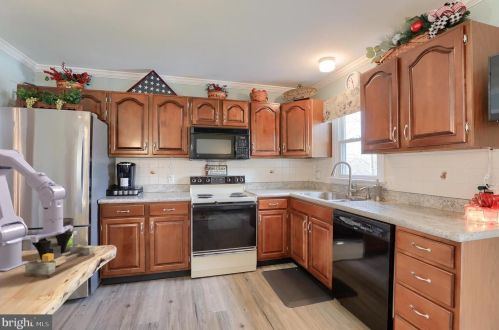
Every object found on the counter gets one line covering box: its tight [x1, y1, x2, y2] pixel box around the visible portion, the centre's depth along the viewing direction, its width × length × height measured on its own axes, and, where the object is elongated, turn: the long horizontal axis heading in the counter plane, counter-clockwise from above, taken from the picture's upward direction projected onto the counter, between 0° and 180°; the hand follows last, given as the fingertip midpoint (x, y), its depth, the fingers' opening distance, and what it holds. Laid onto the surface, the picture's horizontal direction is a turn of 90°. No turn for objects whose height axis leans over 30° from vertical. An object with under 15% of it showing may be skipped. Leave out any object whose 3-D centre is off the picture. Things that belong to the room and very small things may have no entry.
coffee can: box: [46, 217, 74, 256], centre depth 105 cm, size 10×10×14 cm
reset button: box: [42, 253, 54, 262], centre depth 83 cm, size 2×2×2 cm
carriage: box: [40, 245, 66, 266], centre depth 88 cm, size 6×4×6 cm, turn 83°
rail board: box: [23, 243, 96, 279], centre depth 92 cm, size 10×20×5 cm, turn 172°
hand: (53, 255), depth 88 cm, fingers open, 6 cm apart
